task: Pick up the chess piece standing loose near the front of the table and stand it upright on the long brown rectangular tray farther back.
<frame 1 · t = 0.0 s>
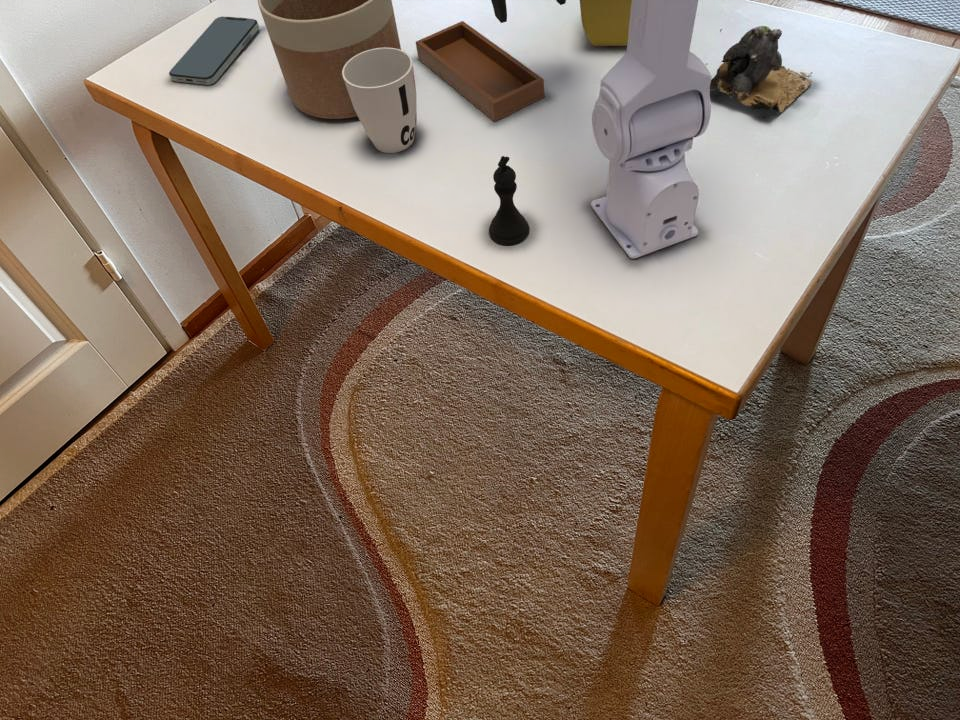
hand: (530, 9, 86), 10 cm above the table, tool pointing down, fingers open, 7 cm apart
figurine: (752, 93, 89), on the table
smartphone: (218, 56, 106), on the table
cup: (394, 141, 90), on the table
brown rectangular tray: (478, 77, 96), on the table
planter: (349, 89, 98), on the table
chess piece: (509, 232, 78), on the table
flower pot: (611, 38, 99), on the table
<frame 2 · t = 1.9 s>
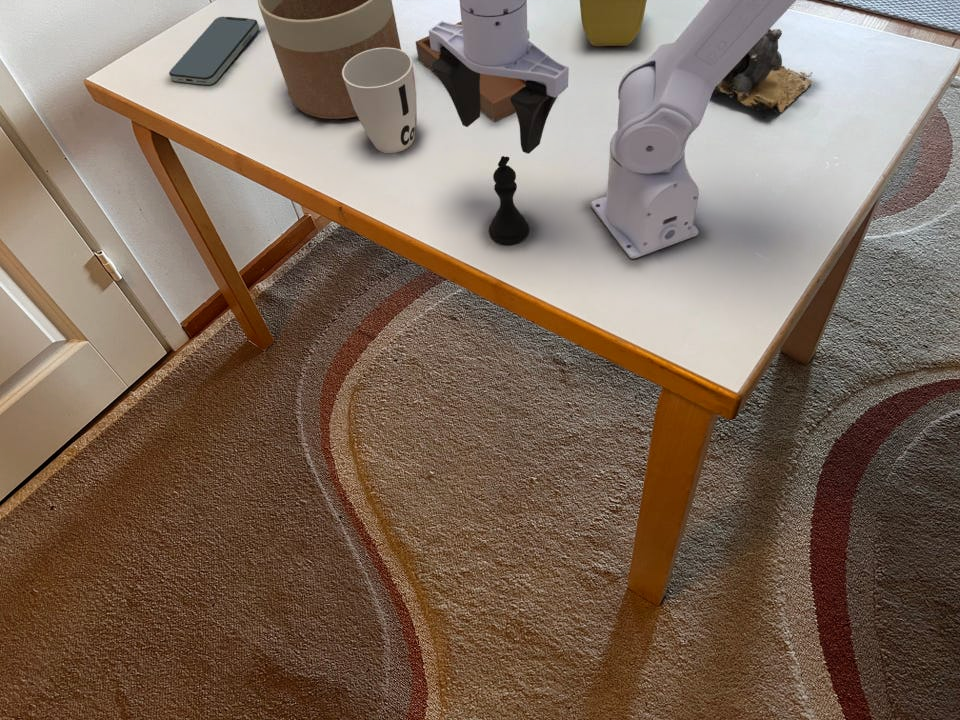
hand: (500, 134, 72), 10 cm above the table, tool pointing down, fingers open, 7 cm apart
nothing on the table moved.
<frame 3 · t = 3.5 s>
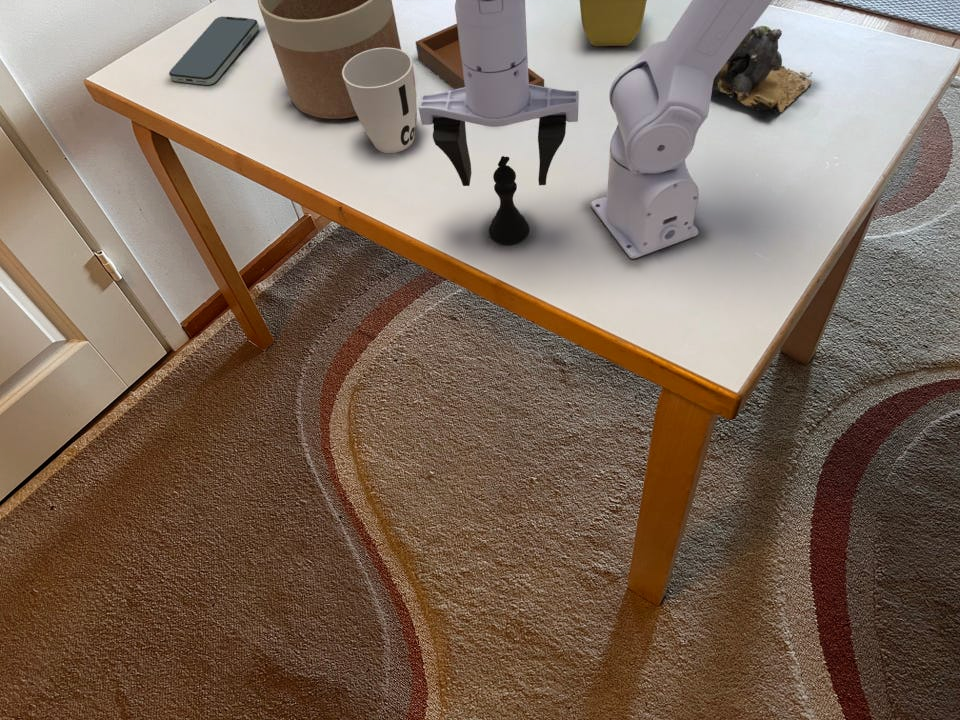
hand: (504, 179, 72), 7 cm above the table, tool pointing down, fingers open, 7 cm apart
nothing on the table moved.
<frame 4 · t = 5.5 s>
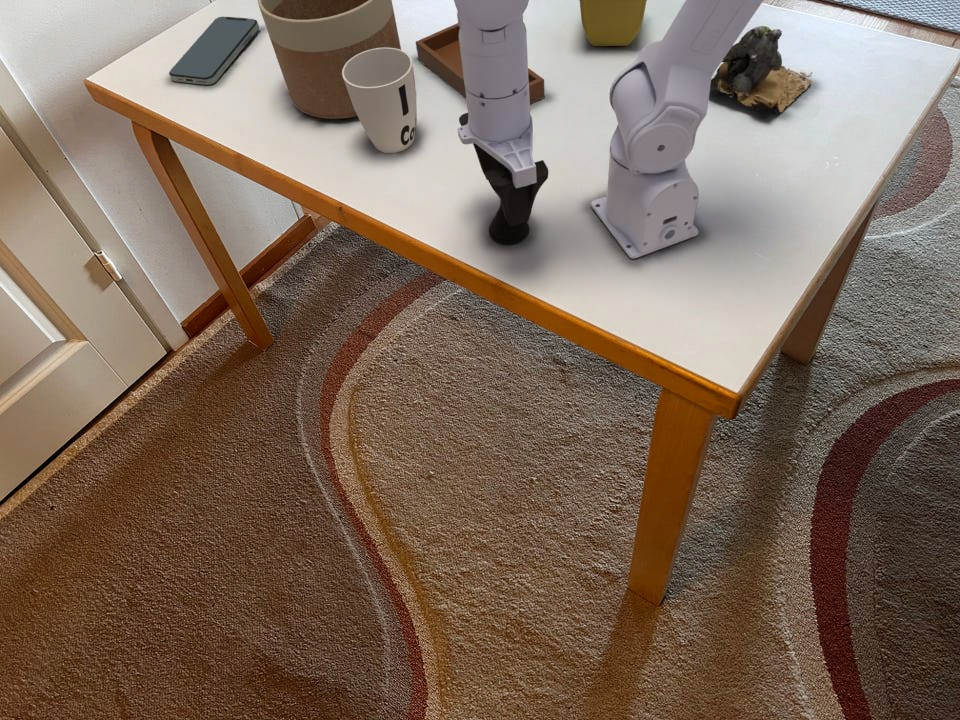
hand: (506, 198, 74), 5 cm above the table, tool pointing down, fingers open, 7 cm apart
nothing on the table moved.
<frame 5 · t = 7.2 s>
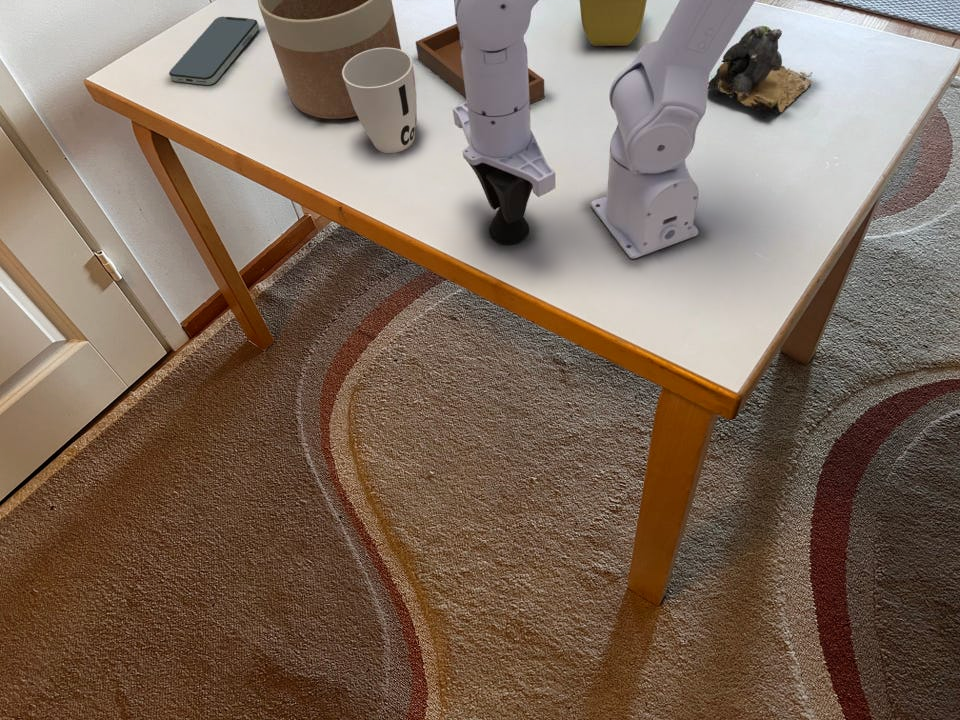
hand: (507, 211, 76), 3 cm above the table, tool pointing down, fingers closed on chess piece, 2 cm apart
chess piece: (509, 232, 78), on the table, touching gripper
everything else where it was.
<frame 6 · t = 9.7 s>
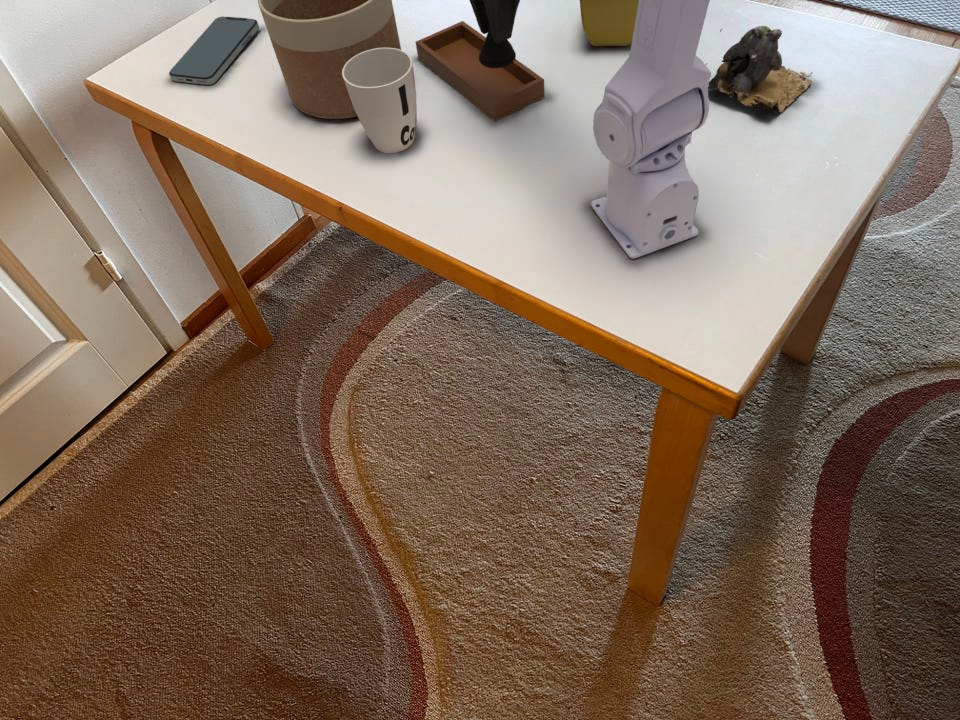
hand: (496, 34, 83), 10 cm above the table, tool pointing down, fingers closed on chess piece, 2 cm apart
chess piece: (497, 59, 86), point 7 cm above the table, touching gripper
everything else where it was.
when the fingers open (3 cm above the table, at t = 12.1 s): chess piece stays where it is, resting on brown rectangular tray.
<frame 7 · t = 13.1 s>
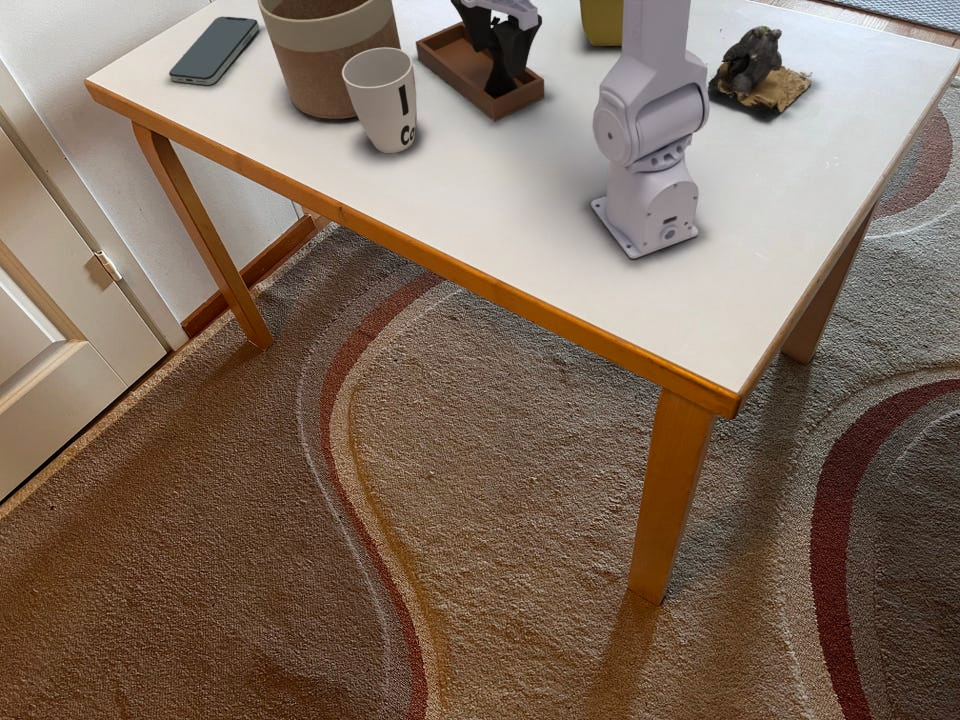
hand: (499, 61, 89), 5 cm above the table, tool pointing down, fingers open, 7 cm apart
chess piece: (501, 93, 93), resting on brown rectangular tray
everything else where it was.
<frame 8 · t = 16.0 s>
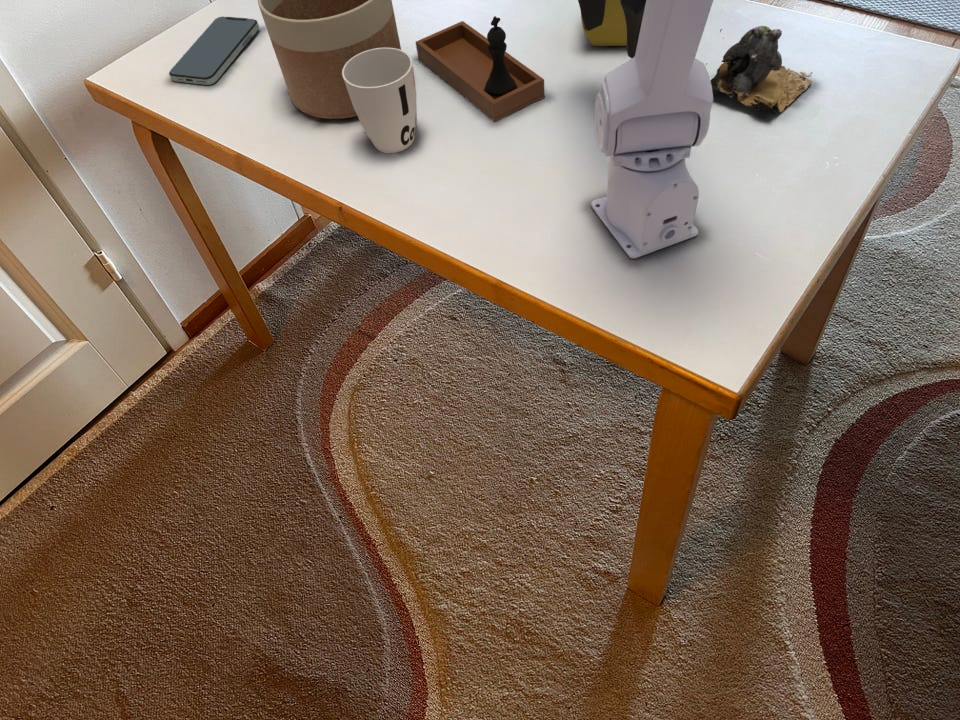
hand: (614, 40, 81), 9 cm above the table, tool pointing down, fingers open, 7 cm apart
nothing on the table moved.
at the end: chess piece inside the target area in the brown rectangular tray (5.5 cm from its centre), point 0.4 cm above the brown rectangular tray's base; chess piece tilted 0°; the gripper is holding nothing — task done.
